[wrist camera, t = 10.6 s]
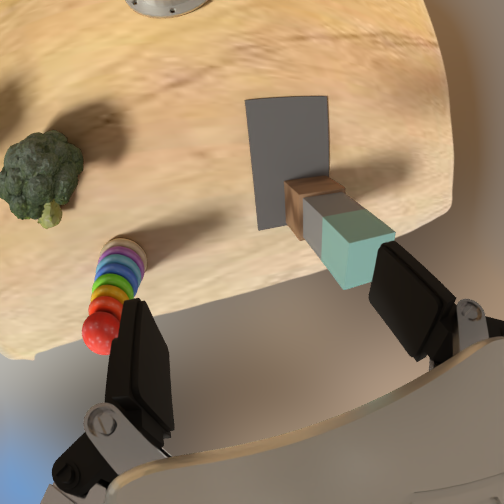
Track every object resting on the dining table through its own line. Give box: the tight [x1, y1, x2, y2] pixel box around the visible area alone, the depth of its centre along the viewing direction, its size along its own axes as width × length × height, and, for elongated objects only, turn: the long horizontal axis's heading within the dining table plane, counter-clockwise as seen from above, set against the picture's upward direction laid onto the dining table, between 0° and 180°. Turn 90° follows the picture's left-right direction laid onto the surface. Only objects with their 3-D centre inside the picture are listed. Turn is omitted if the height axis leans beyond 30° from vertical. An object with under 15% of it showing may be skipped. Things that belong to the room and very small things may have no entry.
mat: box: [245, 96, 329, 231], centre depth 39 cm, size 20×12×1 cm, turn 6°
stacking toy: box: [82, 238, 147, 355], centre depth 33 cm, size 8×8×19 cm
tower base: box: [284, 175, 345, 241], centre depth 40 cm, size 7×7×6 cm
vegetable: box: [0, 130, 83, 229], centre depth 27 cm, size 12×13×15 cm
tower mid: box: [303, 192, 365, 260], centre depth 35 cm, size 6×6×6 cm
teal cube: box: [321, 209, 396, 290], centre depth 30 cm, size 6×6×6 cm
